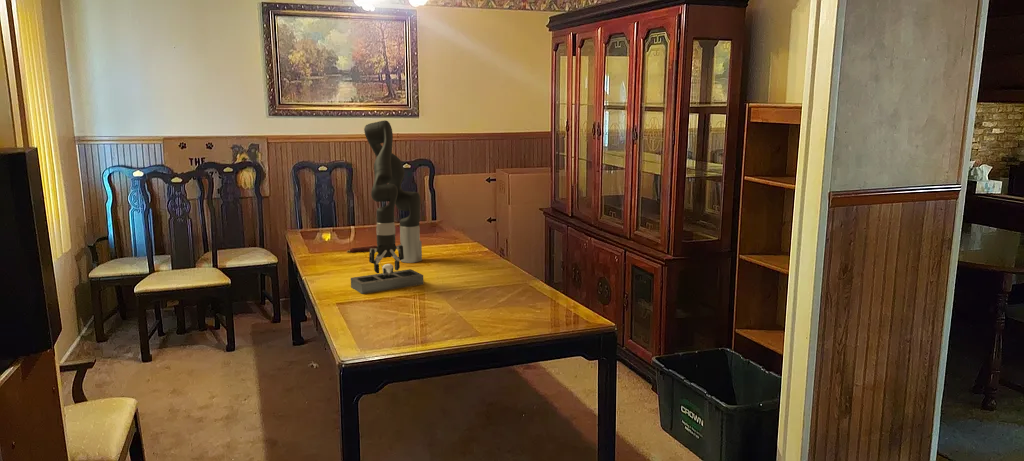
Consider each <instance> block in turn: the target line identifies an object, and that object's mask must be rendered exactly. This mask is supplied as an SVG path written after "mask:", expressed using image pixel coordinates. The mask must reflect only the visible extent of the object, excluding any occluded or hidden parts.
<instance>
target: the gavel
mask: <svg viewBox="0 0 1024 461" xmlns="http://www.w3.org/2000/svg"><path fill="white" fill-rule="evenodd" d="M370 248H372V249H374V248H377V245H370V246H360V247H359V246H358V247H352V248H350V249H348V250H346V253H351V254H352V253H354V254H355V253H364V252H365V253H366V252H369V250H370Z"/></svg>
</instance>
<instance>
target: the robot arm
mask: <svg viewBox="0 0 1024 461" xmlns="http://www.w3.org/2000/svg"><path fill="white" fill-rule="evenodd" d="M363 131H364V136H365V138H366V141H367V142H368V144H369V146H370V148H371V150H372V151H373V153H374V155H375V157H376V158H375V160H374V163H373V172H374V180H373V184H372V187H371V192H370V195H371V196H370V197H371V199H372V200H373V201H374V202H377V203H379V202H380V203H381V202H388V203H387V205H385V206H381V207H378V208H377V209H376V229H375V230H376V246H377V248H374V249H372V248H370V250H369V251H368V252H369V253H368V254H369V257H368V258H369V259H368V260H369V263H370V264H373V271H374V272H375V274H380V264H379V263H381V260H383V258H384V259H386V258H393V259H394V271H400V270H399V269H400V263H407V264H408V263H409V264H410V263H411V264H412V263H418V262H421V261H423V257H422V256H423V253H422V252H423V251H422V250H423V249H422V248H423V247H422V241H421V239H420V238H421V236H420V232H421V230H420V219H421V196H420V194H419V193H418V191H404V189H403V188H402V186H401V185H402V182H403V179H404V178H405V169H404V166H403V163H402V162H401V160H400V158H399V157H398V156H397V154H394V153H392V152H393V143H394V142H393V141H394V140H393V139H394V137H393V135H394V133H393V128H392V126H391V123H390V122H389V121H388V120H379V121H375V122H371V123H367V124H366V125H365V126H364V128H363ZM382 144H383V145H382ZM395 206H396V208H397V209H398V210H399V211H403V212H409V215H407V217H403V218H400V219H399V235H400V236H399V243H400V244H398V245H396V224H395ZM396 250H397V251H398V255H397V253H395V252H396ZM376 253H377V254H376ZM375 254H376V256H375Z"/></svg>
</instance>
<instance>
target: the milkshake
mask: <svg viewBox="0 0 1024 461" xmlns="http://www.w3.org/2000/svg"><path fill="white" fill-rule="evenodd" d="M379 263H380V264H379V265H381V268H382V269H381V270H382V273H383V278H384V279H389V278H393V272H394V265H393V264H392V263H386V264H383V265H382V263H381V262H379Z"/></svg>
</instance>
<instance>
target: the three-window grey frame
mask: <svg viewBox="0 0 1024 461" xmlns="http://www.w3.org/2000/svg"><path fill="white" fill-rule="evenodd" d="M421 285H424V274H422V273H420V272H418V271H415V270H414V269H410V268H409V269H404V270H402V269H401V270H394V271H393V278H389V279H384V278H383V272H381V273H374V274H368V275H361V276H354V277H350V288H351V289H353V290H355V291H357V292H358V293H360V294H361V295H365V294H371V293H376V292H383V291H389V290H396V289H402V288H409V287H414V286H415V287H416V286H421Z"/></svg>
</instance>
